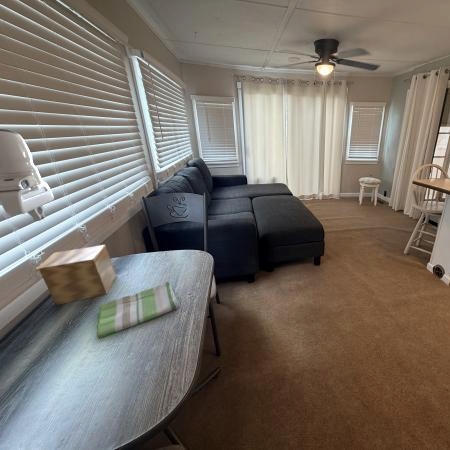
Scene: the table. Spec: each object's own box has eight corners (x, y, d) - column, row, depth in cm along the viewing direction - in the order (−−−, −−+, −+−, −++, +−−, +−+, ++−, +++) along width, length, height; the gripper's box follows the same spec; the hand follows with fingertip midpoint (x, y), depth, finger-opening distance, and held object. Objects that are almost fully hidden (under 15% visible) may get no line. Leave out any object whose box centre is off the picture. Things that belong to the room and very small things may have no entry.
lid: (35, 271, 83) (34, 269, 82) (55, 254, 94) (54, 252, 94) (93, 260, 88) (93, 259, 88) (105, 246, 100) (105, 244, 100)
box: (56, 305, 88) (39, 270, 83) (72, 285, 100) (58, 254, 95) (106, 293, 94) (94, 261, 88) (116, 276, 106) (105, 246, 100)
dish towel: (180, 309, 84) (178, 301, 83) (97, 340, 72) (93, 331, 71) (172, 286, 97) (170, 278, 96) (101, 309, 85) (98, 301, 84)
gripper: (28, 176, 87) (44, 212, 92) (-14, 187, 69) (8, 231, 74) (50, 175, 89) (65, 210, 94) (15, 184, 71) (35, 227, 76)
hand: (40, 219), depth 84 cm, fingers closed
